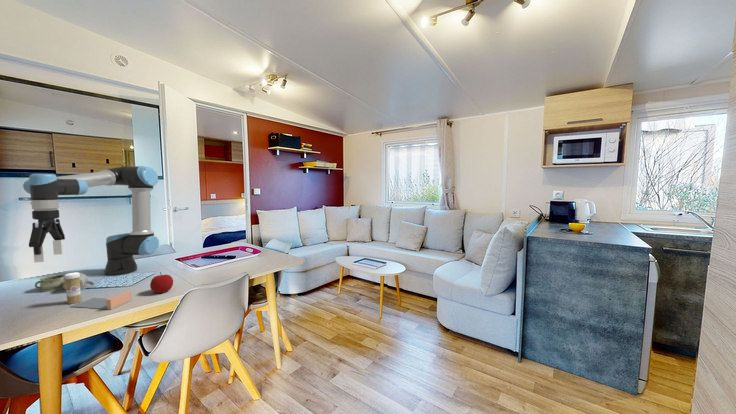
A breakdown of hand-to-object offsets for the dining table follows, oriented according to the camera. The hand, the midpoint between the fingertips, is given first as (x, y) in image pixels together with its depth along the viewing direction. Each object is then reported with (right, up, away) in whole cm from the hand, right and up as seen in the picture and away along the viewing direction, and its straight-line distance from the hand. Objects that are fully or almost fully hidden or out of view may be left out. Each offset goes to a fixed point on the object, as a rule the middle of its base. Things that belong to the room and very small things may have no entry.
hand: (49, 258), depth 117 cm
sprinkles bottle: (+5, -22, +6) cm, 23 cm away
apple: (+35, -21, +19) cm, 45 cm away
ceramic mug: (-10, -20, +21) cm, 31 cm away
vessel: (-22, -20, +20) cm, 36 cm away
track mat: (+19, -22, +4) cm, 29 cm away
